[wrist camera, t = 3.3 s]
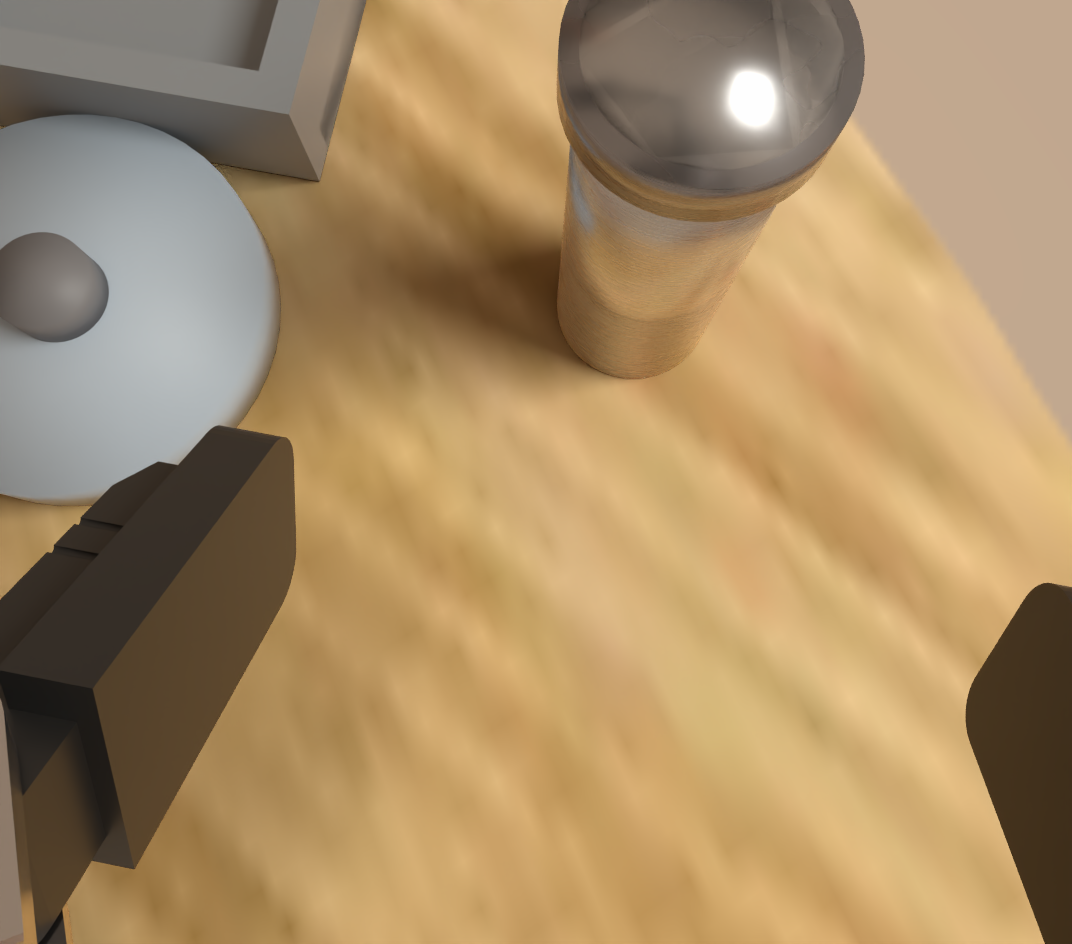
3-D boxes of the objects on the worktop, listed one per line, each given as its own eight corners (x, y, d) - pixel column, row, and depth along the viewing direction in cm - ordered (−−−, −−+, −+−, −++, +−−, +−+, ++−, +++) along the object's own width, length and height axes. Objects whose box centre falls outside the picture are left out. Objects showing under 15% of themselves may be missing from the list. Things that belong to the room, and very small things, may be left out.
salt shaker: (531, 372, 22) (533, 159, 12) (562, 213, 23) (587, -104, 13) (704, 403, 22) (846, 213, 12) (728, 243, 23) (879, -55, 13)
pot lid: (-156, 467, 21) (-387, 409, 16) (-33, 119, 23) (-202, -37, 18) (227, 538, 21) (124, 504, 16) (319, 181, 23) (255, 41, 18)
